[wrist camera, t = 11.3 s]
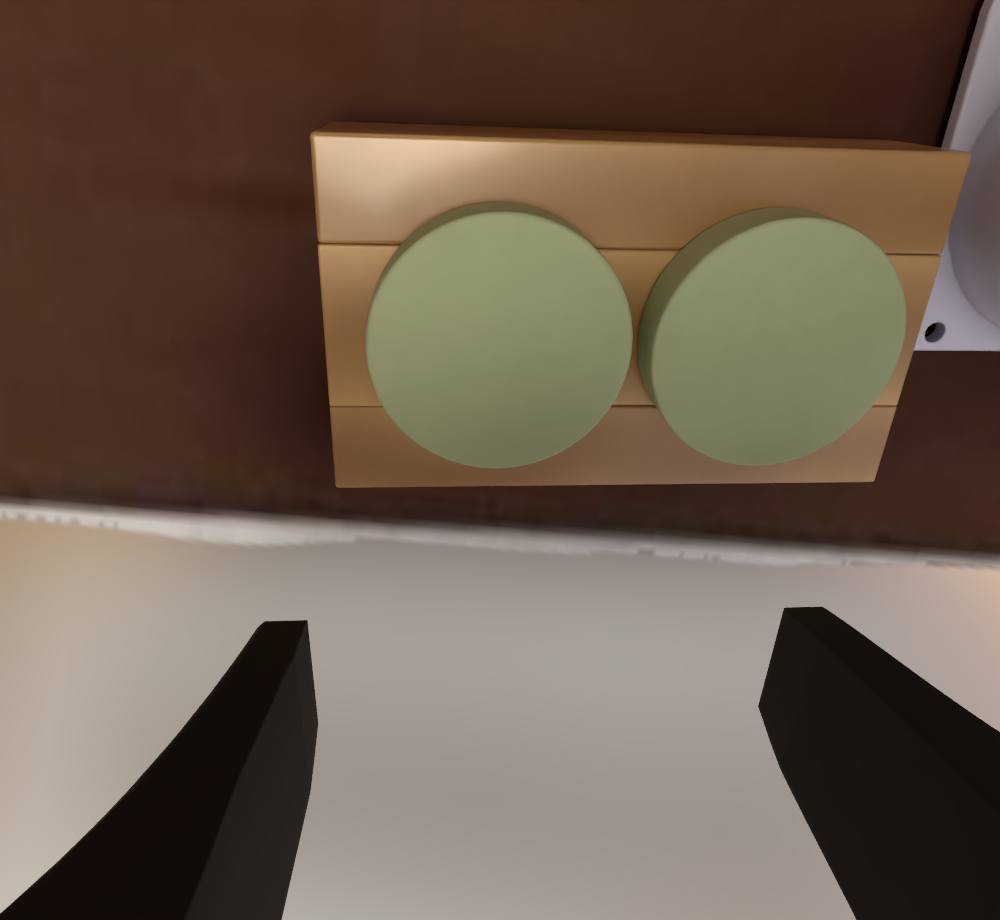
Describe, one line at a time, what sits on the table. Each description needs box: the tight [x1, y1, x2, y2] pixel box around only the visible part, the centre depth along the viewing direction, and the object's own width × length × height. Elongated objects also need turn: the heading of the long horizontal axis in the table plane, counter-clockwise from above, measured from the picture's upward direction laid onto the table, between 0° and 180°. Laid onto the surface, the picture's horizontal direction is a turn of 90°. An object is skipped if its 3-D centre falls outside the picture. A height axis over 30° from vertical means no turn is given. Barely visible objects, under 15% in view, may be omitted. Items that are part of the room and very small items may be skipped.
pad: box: [365, 202, 633, 468], centre depth 16 cm, size 5×5×4 cm
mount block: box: [310, 121, 971, 488], centre depth 17 cm, size 7×13×3 cm, turn 88°
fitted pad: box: [637, 207, 906, 466], centre depth 17 cm, size 5×5×4 cm
